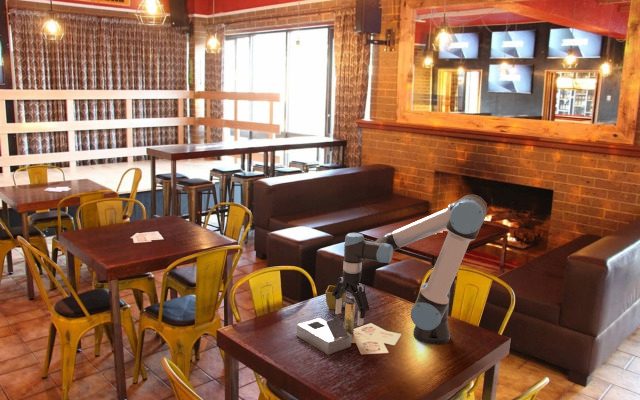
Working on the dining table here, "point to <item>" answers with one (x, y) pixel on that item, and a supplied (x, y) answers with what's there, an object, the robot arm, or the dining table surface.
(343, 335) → the ring flap
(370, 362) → the dining table surface
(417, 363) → the dining table surface
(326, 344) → the block
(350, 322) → the lynch pin
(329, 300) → the flower pot
